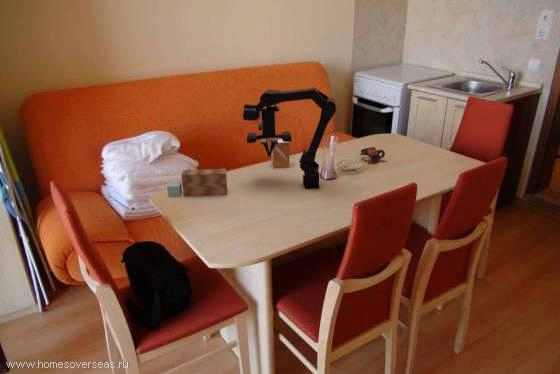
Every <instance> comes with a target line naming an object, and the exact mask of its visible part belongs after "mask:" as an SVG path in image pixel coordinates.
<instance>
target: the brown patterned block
mask: <svg viewBox="0 0 560 374" xmlns="http://www.w3.org/2000/svg"><path fill="white" fill-rule="evenodd" d="M227 180H228V177H227V168H216V169H215V168H211V169H208V168H206V169H184V170H182V172H181V185H182V194H183V197H204V196H205V197H206V196H207V197H210V196H226V195H228V181H227Z"/></svg>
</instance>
